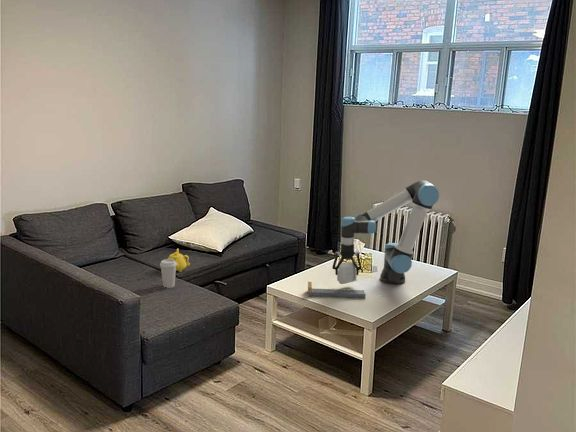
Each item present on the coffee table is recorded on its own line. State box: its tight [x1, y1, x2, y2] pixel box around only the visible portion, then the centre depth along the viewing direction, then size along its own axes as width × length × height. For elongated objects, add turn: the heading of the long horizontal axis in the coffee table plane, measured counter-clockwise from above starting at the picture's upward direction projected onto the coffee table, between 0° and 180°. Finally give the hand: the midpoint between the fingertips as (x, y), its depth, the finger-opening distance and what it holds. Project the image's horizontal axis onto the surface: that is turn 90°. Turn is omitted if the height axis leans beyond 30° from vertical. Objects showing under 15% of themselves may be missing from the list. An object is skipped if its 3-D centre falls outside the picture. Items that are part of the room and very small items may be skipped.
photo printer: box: [338, 261, 356, 285], centre depth 322 cm, size 10×4×12 cm, turn 123°
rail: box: [307, 281, 367, 300], centre depth 311 cm, size 32×9×6 cm, turn 88°
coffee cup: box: [159, 258, 177, 289], centre depth 317 cm, size 10×10×15 cm
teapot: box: [167, 248, 191, 273], centre depth 344 cm, size 20×15×12 cm
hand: (346, 280), depth 323 cm, fingers closed on photo printer, 9 cm apart
